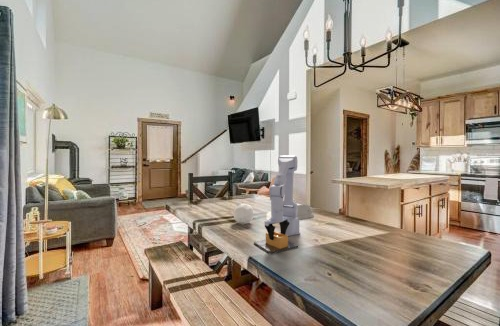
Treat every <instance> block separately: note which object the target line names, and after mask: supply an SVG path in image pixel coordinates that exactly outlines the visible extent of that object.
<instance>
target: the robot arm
mask: <svg viewBox="0 0 500 326" xmlns="http://www.w3.org/2000/svg"><path fill="white" fill-rule="evenodd" d="M277 164H278V167H279V170H278V173H277V174H276V175H275V177H274V180H273V183H272V185H271V186H270V187H269V190H268V192H269V193H268V195H269V200H270V205H271V206H270V209H271V210H270V215H271V217H270V218H269V219H267V220H265V221H264V222H263V223H264V227H265V230H266V231H267V232H268V235H269V239H271V240H273V239H274V231H275V229H276V226H274V225H275V224H279V228H280V231H278V232H279V233H281V234H284V235H287V236H288V237H289V236H294V235H295V236H296V235H300V234H301V232H300V219H298V218H297V215H298V207H297V205H298V204H297V202H295V201H294V198H293V197H294V194H293V193H294V174H295V172H296V171H297V170H298V156H297V155H279V156H278V160H277ZM267 232H266V233H267Z"/></svg>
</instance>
